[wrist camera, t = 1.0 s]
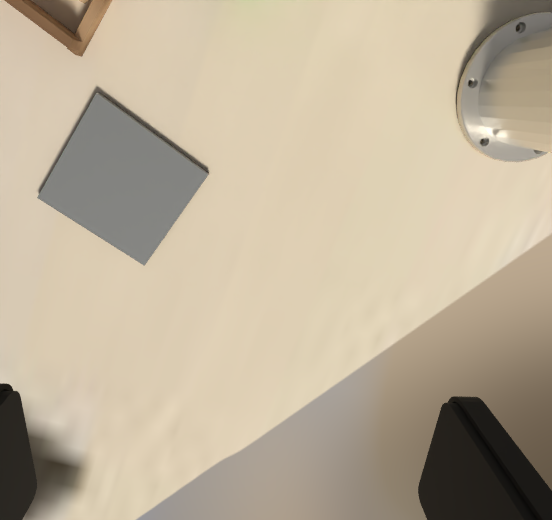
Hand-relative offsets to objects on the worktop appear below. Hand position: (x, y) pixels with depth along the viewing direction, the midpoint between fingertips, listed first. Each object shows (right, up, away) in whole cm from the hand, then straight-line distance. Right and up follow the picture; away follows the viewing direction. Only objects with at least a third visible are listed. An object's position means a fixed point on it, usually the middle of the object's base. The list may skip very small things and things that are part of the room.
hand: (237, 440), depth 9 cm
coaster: (-14, +11, +30) cm, 35 cm away
